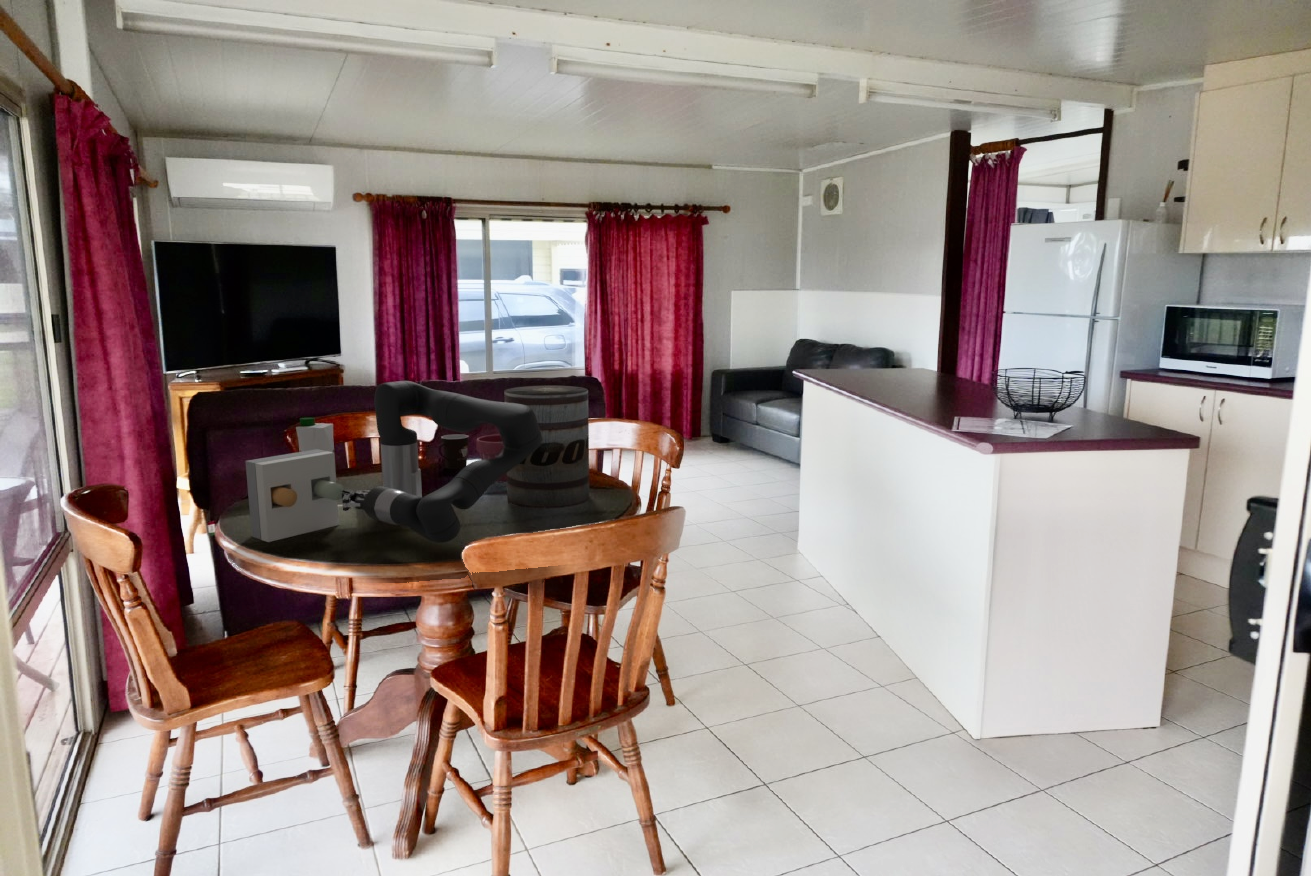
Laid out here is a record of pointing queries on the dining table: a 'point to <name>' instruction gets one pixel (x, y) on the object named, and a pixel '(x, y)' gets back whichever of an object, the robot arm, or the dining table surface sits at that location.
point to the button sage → (328, 490)
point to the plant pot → (491, 449)
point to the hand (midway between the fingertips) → (345, 494)
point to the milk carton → (315, 435)
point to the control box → (295, 475)
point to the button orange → (283, 496)
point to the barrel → (553, 449)
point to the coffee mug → (455, 450)
